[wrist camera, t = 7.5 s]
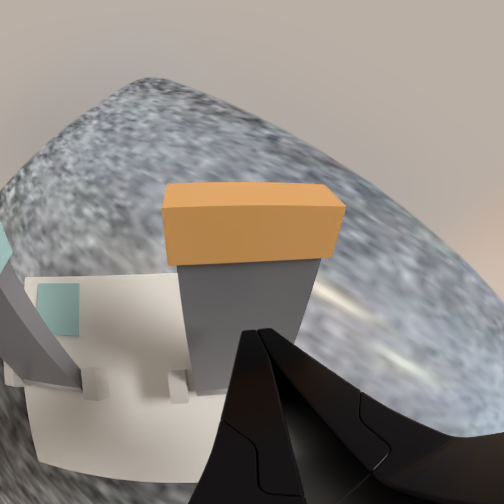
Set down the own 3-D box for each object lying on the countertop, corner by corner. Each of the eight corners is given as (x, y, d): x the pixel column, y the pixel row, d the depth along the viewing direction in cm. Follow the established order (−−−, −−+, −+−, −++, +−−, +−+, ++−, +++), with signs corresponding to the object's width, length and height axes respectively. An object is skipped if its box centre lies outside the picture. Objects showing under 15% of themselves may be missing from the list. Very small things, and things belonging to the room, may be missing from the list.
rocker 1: (89, 398, 11) (-27, 239, 4) (28, 388, 10) (-82, 247, 3) (92, 375, 12) (-4, 210, 5) (32, 368, 11) (-65, 224, 4)
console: (293, 456, 13) (316, 476, 10) (50, 453, 10) (22, 467, 6) (271, 277, 18) (288, 256, 14) (38, 286, 14) (8, 267, 11)
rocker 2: (281, 392, 12) (346, 206, 7) (194, 401, 12) (161, 207, 6) (275, 369, 14) (324, 184, 8) (192, 378, 13) (167, 183, 7)
